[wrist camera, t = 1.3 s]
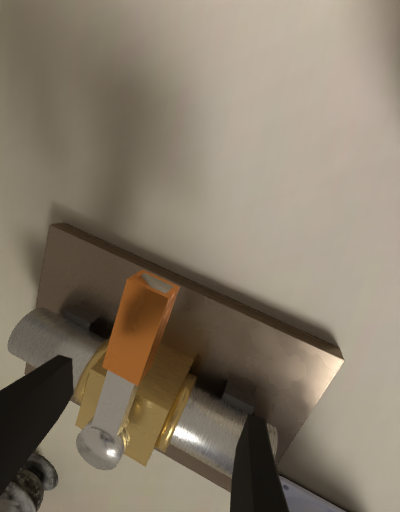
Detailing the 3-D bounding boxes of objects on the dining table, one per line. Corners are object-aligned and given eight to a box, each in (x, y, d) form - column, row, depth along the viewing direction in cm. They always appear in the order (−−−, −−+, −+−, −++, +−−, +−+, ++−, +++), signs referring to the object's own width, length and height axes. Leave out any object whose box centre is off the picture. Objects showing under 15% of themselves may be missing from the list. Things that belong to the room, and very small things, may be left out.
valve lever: (124, 457, 18) (110, 480, 16) (86, 434, 18) (70, 456, 17) (186, 289, 14) (175, 301, 12) (136, 266, 14) (120, 275, 13)
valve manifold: (339, 348, 20) (372, 438, 13) (252, 486, 25) (241, 604, 18) (63, 222, 24) (-29, 238, 17) (36, 364, 29) (-42, 423, 22)
